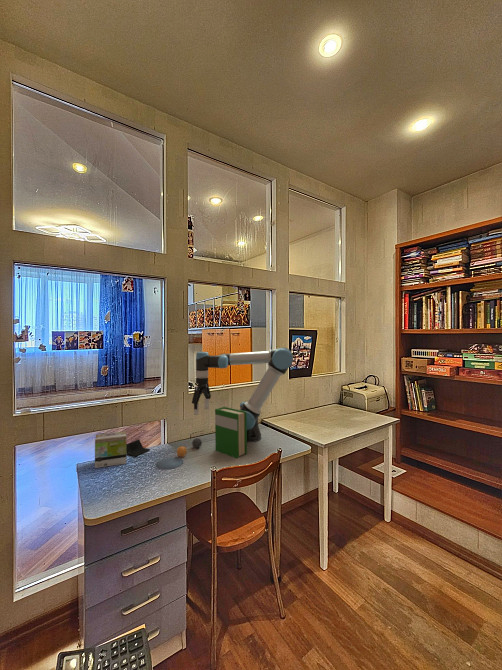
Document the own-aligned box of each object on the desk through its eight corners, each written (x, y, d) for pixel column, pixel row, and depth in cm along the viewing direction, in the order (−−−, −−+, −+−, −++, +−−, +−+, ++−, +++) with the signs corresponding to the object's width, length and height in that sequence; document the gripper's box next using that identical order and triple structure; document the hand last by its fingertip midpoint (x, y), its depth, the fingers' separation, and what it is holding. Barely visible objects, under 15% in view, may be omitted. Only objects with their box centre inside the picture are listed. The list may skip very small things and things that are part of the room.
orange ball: (189, 455, 170) (188, 445, 170) (182, 459, 165) (182, 448, 165) (181, 453, 173) (180, 444, 173) (174, 457, 168) (174, 447, 168)
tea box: (94, 469, 154) (94, 440, 154) (95, 461, 164) (95, 434, 163) (126, 463, 160) (126, 435, 160) (126, 456, 170) (126, 430, 169)
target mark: (188, 460, 163) (188, 460, 163) (171, 471, 151) (171, 471, 151) (168, 456, 169) (168, 455, 169) (149, 466, 157) (149, 466, 157)
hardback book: (246, 454, 171) (246, 411, 171) (237, 458, 165) (237, 414, 165) (224, 446, 183) (224, 406, 182) (215, 450, 177) (215, 409, 177)
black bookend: (139, 454, 168) (131, 438, 171) (129, 462, 169) (121, 446, 172) (151, 450, 179) (144, 435, 182) (143, 457, 180) (135, 442, 183)
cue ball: (203, 446, 183) (203, 437, 183) (198, 450, 178) (197, 440, 178) (195, 445, 185) (195, 436, 185) (190, 448, 180) (190, 439, 180)
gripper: (205, 374, 201) (205, 406, 201) (186, 379, 177) (185, 416, 177) (216, 374, 198) (215, 407, 198) (197, 380, 175) (197, 417, 175)
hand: (201, 411), depth 188 cm, fingers open, 13 cm apart
